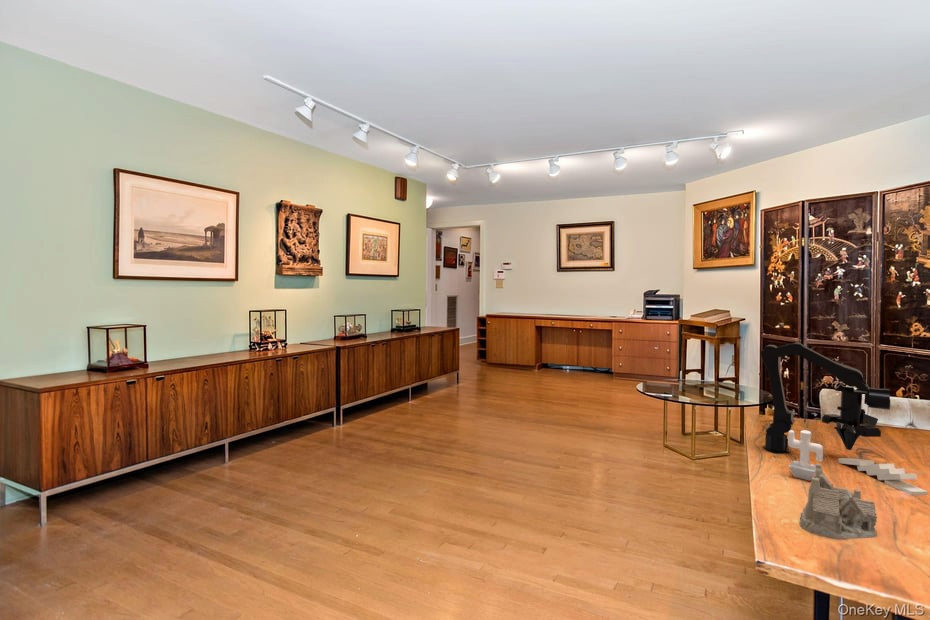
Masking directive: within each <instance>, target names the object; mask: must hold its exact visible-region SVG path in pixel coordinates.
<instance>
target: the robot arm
mask: <svg viewBox="0 0 930 620" xmlns="http://www.w3.org/2000/svg"><path fill="white" fill-rule="evenodd" d="M792 355H797V356H799V357H800V358H803V359H805V360H806V361H808V362H811V363H812V364H815V365H816V366H817V367H819V368H821V369H823V370H826V371H827V372H829V373H830V374H831V375H833V376H834V377H835V378H836V379H837V380H839V381H840V382H842V383H840V384H839V385H838V386H836V387H835V389H834V391H836V392H840V406H838V405H837V410H839V411H840V413H839V414H840V415H839V414H835V413H834V414H833V413H832V414H831V413H830V414H825V413H824V414H823V415H822V417H821V423H824V424H827V425H828V424H830V423H834V424H836V425H835V426H834V427H833V428H834V430H836V432H837V434H838V435H839V437H840V439H841V441H842V443H843V445H844V447H845V449H846V450H848V451H851V450H852V449H853V447H854V445H855V444H856V442H857V440H858V438H859V437H860V436H861V437H866V438H871V437H872V438H874V437H875V438H876V437H877V438H881V437H882V430H881V429H880V428H879V427H877V423H878V421H879V418H877V417H875V416H872V415H869V414H866V410H865V408H862V407H863V406H862V404H863V395H864V405H866V406H867V407H868V408H871V409H879V410H888V411H890V410H891V396H890V395H891V394H890V393H891V390H890V389H889V388H875V387H870V386H869V384H868V383H867V382H866V381H865V380H864V376H863V373H862V371H861V370H859V369H857V368H855V367H851V366H849V365H846V364H843V363H839V362H836V361H834V360H832V359H830V358H829V357H827V356H824V355H823V354H820V353H819V352H817V351H815V350H814V349H811V348H809V347H807V346H806V345H804V344H802V343H801V342H794V343H787V344H782V345H775V344H768V345H766V346H763V348H762V349H761V350H760V356H761V359H762V362H763V364H764V365H765V368H766V369H767V374H768V379H769V380H768V381H769V385H770V386H769V387H770V391H771V397H772V404H773V414H772V422H771V424H769V426H767V428H766V430H765V442H764V443H765V445H763V446H761V447H762V449H764V450H767V451H768V452H771V453H773V454H787V453H788V454H790V452H791V451H789V450H788V449H789V447H788V446H789V444H788V434H786V433H789V431H790V430H791V429H792V428H793V426H794V424H795V421H796V420H795V419H794V410H789V408H788V406H787V402H786V397H785V391H784V386H783V380H782V373H781V359H782V357H787V356H792ZM843 384H844V385H843Z"/></svg>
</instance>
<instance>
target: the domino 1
mask: <svg viewBox="0 0 930 620" xmlns="http://www.w3.org/2000/svg"><path fill="white" fill-rule="evenodd" d="M838 464H842V465H843V464H844V465H851V466H852V465H853V466H862V465H872V464H875V460H872V459H862V458H852V457H849V458H848V457H846V458H845V457H841V458H838Z"/></svg>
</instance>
